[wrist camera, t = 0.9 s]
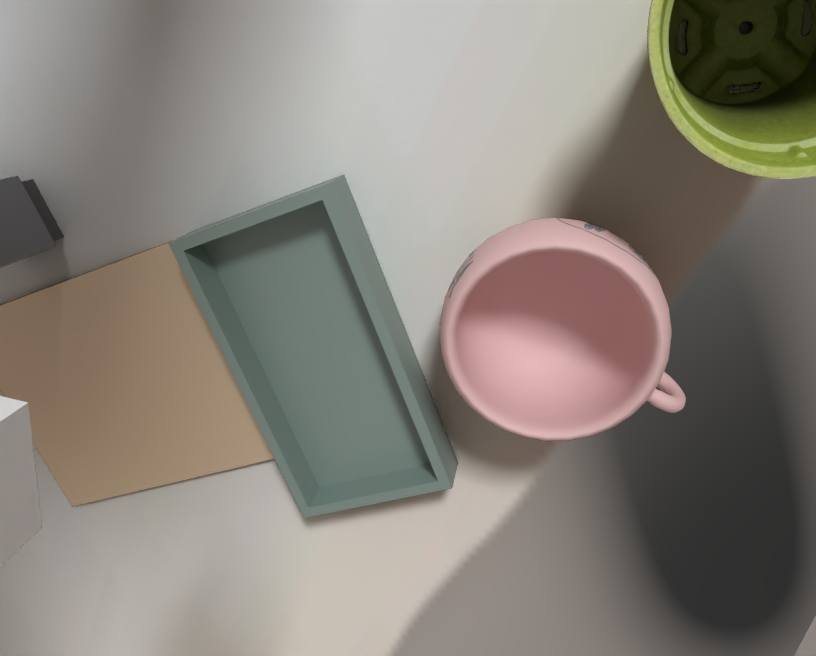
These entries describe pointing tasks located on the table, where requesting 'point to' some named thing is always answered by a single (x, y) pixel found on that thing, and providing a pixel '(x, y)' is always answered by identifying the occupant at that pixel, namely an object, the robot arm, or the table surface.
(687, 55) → the plant pot
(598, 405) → the mug
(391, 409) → the tray
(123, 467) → the tan board
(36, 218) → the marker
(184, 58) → the table surface
